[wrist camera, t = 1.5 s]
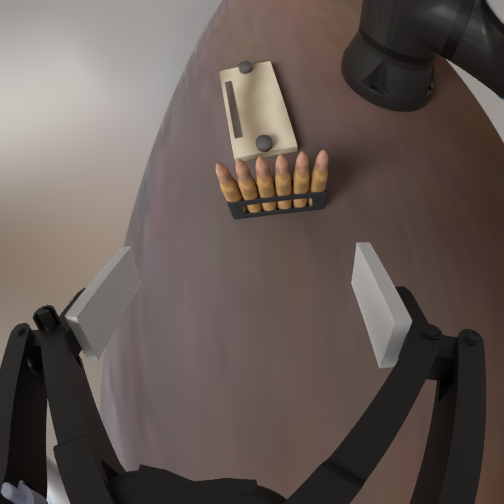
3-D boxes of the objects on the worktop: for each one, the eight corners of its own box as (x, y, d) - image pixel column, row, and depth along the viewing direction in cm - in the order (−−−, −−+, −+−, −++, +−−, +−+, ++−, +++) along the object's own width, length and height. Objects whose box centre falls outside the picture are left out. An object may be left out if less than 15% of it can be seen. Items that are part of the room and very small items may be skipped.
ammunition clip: (233, 219, 35) (207, 174, 24) (232, 205, 36) (206, 155, 24) (323, 209, 34) (337, 159, 23) (320, 194, 35) (332, 140, 23)
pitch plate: (270, 66, 40) (269, 56, 38) (297, 151, 36) (297, 141, 34) (220, 76, 41) (218, 67, 39) (235, 163, 37) (232, 154, 35)
